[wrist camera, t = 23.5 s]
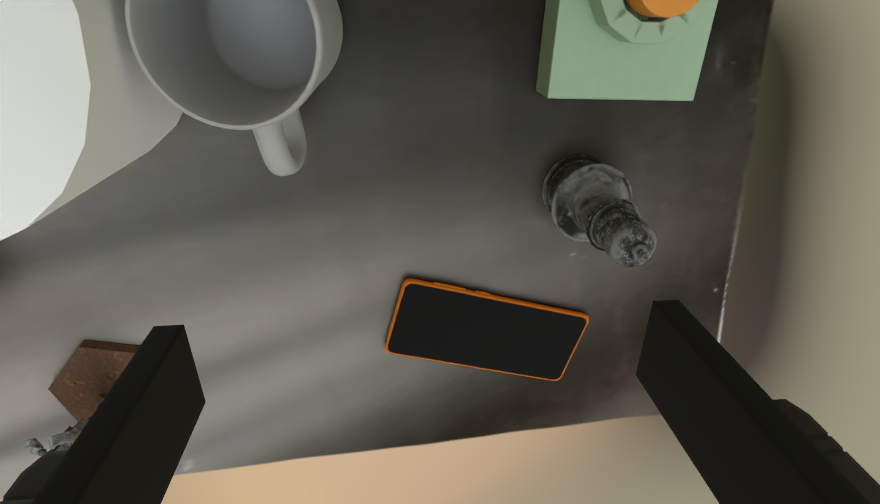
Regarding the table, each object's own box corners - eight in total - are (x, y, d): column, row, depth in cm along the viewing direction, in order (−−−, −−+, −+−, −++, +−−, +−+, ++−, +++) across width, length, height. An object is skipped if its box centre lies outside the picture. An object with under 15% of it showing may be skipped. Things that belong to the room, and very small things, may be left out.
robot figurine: (103, 315, 40) (-2, 430, 29) (209, 372, 43) (150, 494, 33) (40, 400, 43) (-75, 532, 32) (144, 447, 46) (70, 581, 36)
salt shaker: (624, 160, 38) (717, 222, 27) (595, 229, 41) (669, 311, 30) (553, 141, 37) (621, 199, 26) (527, 214, 39) (579, 293, 29)
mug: (183, -41, 30) (83, -61, 20) (324, -65, 30) (294, -96, 20) (248, 154, 35) (195, 213, 26) (368, 133, 35) (360, 184, 26)
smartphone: (557, 377, 47) (560, 383, 46) (382, 347, 44) (382, 353, 43) (589, 311, 44) (593, 316, 43) (404, 272, 40) (404, 278, 40)
